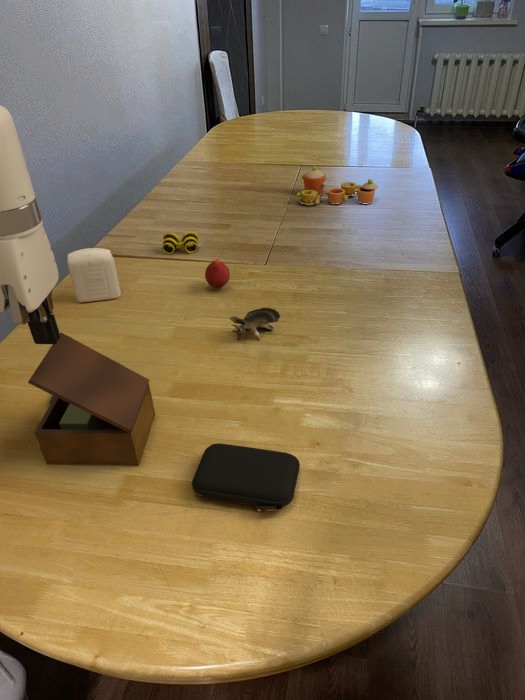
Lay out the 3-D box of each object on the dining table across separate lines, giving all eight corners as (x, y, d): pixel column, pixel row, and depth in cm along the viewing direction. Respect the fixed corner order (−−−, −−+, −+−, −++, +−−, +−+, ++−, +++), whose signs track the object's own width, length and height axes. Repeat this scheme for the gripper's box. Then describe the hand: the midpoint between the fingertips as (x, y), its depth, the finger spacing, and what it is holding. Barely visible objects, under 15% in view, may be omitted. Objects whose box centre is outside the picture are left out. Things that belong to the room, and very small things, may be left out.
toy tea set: (295, 207, 167) (295, 177, 161) (297, 191, 179) (297, 163, 174) (377, 207, 164) (380, 176, 159) (373, 191, 177) (375, 162, 171)
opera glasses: (163, 257, 141) (160, 242, 138) (164, 246, 145) (161, 230, 141) (198, 255, 141) (196, 240, 138) (199, 244, 145) (197, 229, 141)
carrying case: (186, 505, 73) (289, 522, 70) (183, 491, 71) (289, 508, 68) (208, 450, 81) (301, 463, 78) (207, 436, 79) (301, 449, 77)
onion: (225, 296, 121) (222, 265, 116) (202, 292, 123) (199, 262, 118) (234, 284, 125) (232, 254, 121) (212, 281, 127) (209, 251, 122)
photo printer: (121, 290, 125) (111, 242, 118) (121, 299, 122) (110, 250, 114) (77, 296, 123) (64, 248, 116) (76, 305, 120) (62, 256, 113)
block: (66, 444, 82) (58, 423, 80) (75, 424, 86) (69, 404, 83) (93, 444, 82) (87, 423, 79) (102, 424, 86) (96, 404, 83)
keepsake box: (46, 464, 80) (33, 432, 76) (72, 413, 89) (62, 382, 85) (139, 465, 79) (131, 433, 75) (155, 414, 89) (149, 383, 85)
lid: (27, 382, 70) (29, 379, 70) (58, 335, 80) (60, 331, 79) (129, 433, 75) (131, 430, 75) (147, 382, 85) (149, 379, 84)
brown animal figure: (253, 348, 101) (287, 325, 105) (235, 317, 100) (270, 294, 103) (238, 350, 108) (270, 327, 112) (221, 320, 107) (254, 299, 110)
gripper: (5, 196, 69) (43, 313, 80) (-57, 242, 57) (-2, 373, 68) (60, 195, 69) (90, 313, 79) (9, 242, 56) (54, 374, 67)
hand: (48, 340), depth 73 cm, fingers closed
